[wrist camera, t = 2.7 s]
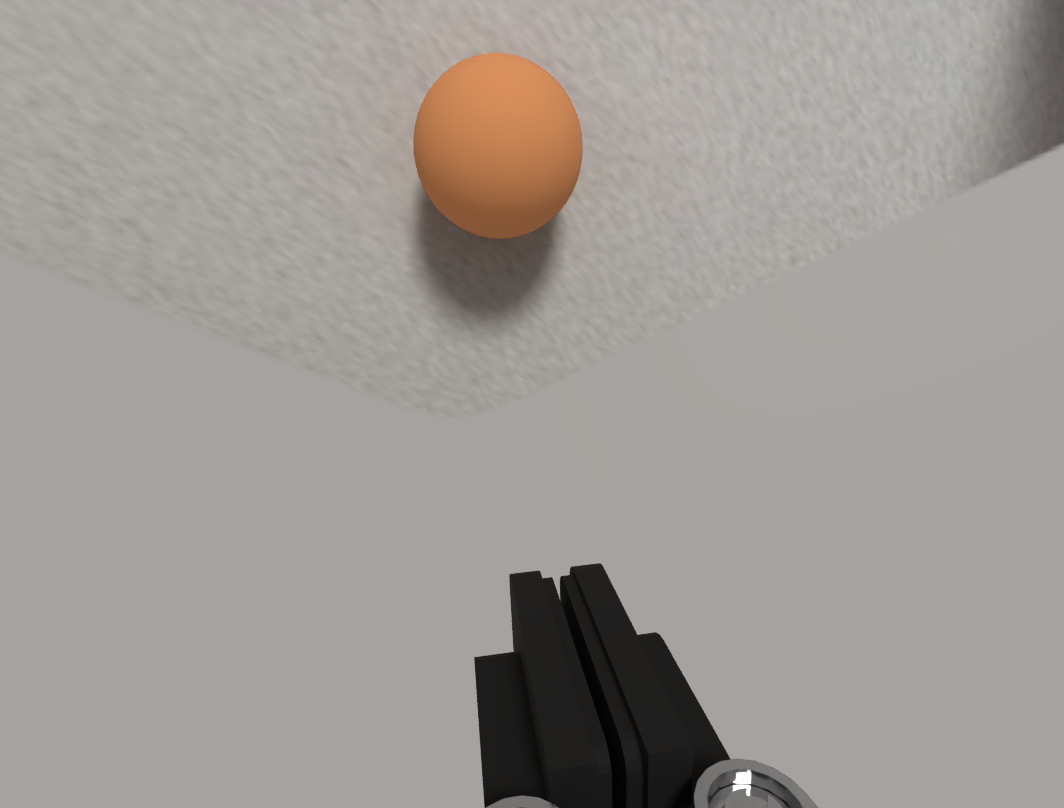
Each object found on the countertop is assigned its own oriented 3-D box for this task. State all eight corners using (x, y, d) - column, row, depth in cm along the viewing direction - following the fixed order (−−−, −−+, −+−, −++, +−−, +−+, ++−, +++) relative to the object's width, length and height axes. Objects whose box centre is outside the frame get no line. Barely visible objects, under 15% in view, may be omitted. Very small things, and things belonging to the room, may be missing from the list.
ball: (563, 81, 21) (600, 24, 15) (566, 236, 22) (601, 233, 17) (411, 82, 20) (396, 23, 15) (426, 242, 21) (416, 241, 16)
